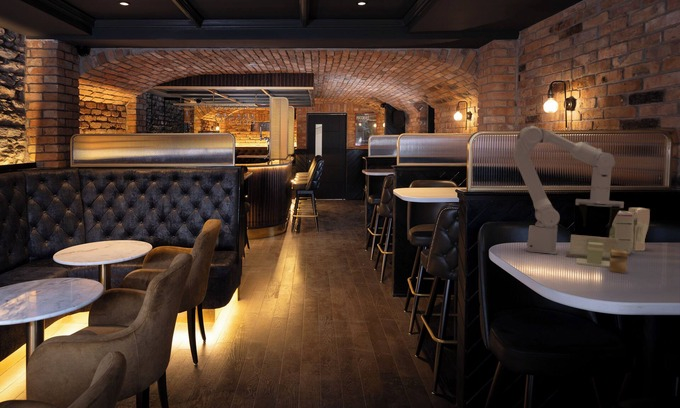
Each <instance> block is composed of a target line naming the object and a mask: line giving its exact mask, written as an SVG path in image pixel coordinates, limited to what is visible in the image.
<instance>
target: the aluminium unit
mask: <svg viewBox="0 0 680 408" xmlns="http://www.w3.org/2000/svg"><path fill="white" fill-rule="evenodd" d="M569 242H570V243H569V251H566V252H565V253H566V254H565V256H566V257H567V258H574V257H575V258H581V259H587V252H588V242H597V243H602V244H603V252H602V261H610V253H611V250H618V242H619V240H618V238H609V237H604V236H603V237H602V236H594V235H593V236H592V235H579V234H571V235H570V241H569Z"/></svg>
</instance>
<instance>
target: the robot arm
mask: <svg viewBox="0 0 680 408" xmlns="http://www.w3.org/2000/svg"><path fill="white" fill-rule="evenodd" d="M541 143H543V144H545V143H546V144H547V143H548V144H551V145H553V146H555V147H558V148H560V149H563V150H566V151H568V152H570V154H571V157H572V158H574V159H577V160H578V161H580V162H582V163H585V164H588V165H591V166H592V175H591V183H590V184H591V186H590V196H589V198H588V199H587V198H586V199H584V198H583V199H582V198H576V199H575V206H578V209H579V211H580V213H581V217H582V222H583V227H584V228H586V227H587V211H588V206H590V207H591V206H593V207H607V208H610V209H609V221H608V229H609V230H610V229H611V227H612V224H613V221H614V219H615V217H616V215H617V214H618V212H619V211H621V210H620V209H624V204H625V202H624V201H619V200H618V201H617V200H610V192H611V190H610V189H611V181H612V180H611V179H612V168H614V167H615V165H616V161H615V158H614V156H613V155H612V154H611V153H610V152H603V149H602V148H599V147H598V148H596V147H594V146H592V145H590V144H589V142H587V141H584V142H583V141H579V142H574V141H571V140H569V139H567V138H565V137H563V136H561V135H559V134H556V133H555V132H552V131H550V130H547V129H545V128H540V127H538V126H535V125H531V126H525V127H523V128H521V130H519V132H518V134H517V135H516V137H515V144H514V151H513V159H514V161H515V164H516V166H517V168H518V171H519V173H520V175H521V177H522V179H523V182H524V184H525V186H526V189H527V191H528V193H529V195H530V198H531V200H532V203H533V207H534V210H535V213H534V217H535V219H536V220H537V221H536V222H535V225H532V224H531V225H529V227H528V234H527V235H528V236H527V241H526V246H527V248H526V249H527V250H526V251H527V252H531V253H543V254H551V255H557V254H558V248H557V239H558V237H557V236H558V226H559V225H558V224H559V222H560V221H561V220H560V219H561V217H560V213H559V212H558V210H556V209H555V208H554V207H553V205H552V203H551V201H550V200H549V198H548V196H547V193H546V191H545V189H544V186H543V185H542V182H541V180H540V177H539V175H538V172H537V171H536V168H535V166H534V164H533V162H532V159H531V154H533V153H532V152H533V150H534V149H535V147H536V146H537V145H538V144H541Z"/></svg>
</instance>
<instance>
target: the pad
mask: <svg viewBox="0 0 680 408" xmlns="http://www.w3.org/2000/svg"><path fill="white" fill-rule="evenodd" d="M575 260H576V262H575V263H576V265H580V266H581V265H582V266H592V267H600V268H601V267H602V268H609V266H610V261H604V260H602V263H601V264H595V263H587V259H584V258H576V259H575Z"/></svg>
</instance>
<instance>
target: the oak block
mask: <svg viewBox="0 0 680 408" xmlns="http://www.w3.org/2000/svg"><path fill="white" fill-rule="evenodd" d="M628 255H629V254H628V253H627V252H626V251H622V250H611V253H610V266H609V267H608V268H609V272H611V273H619V274H626V272H627V265H628V264H627V263H628V262H627V261H628Z"/></svg>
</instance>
